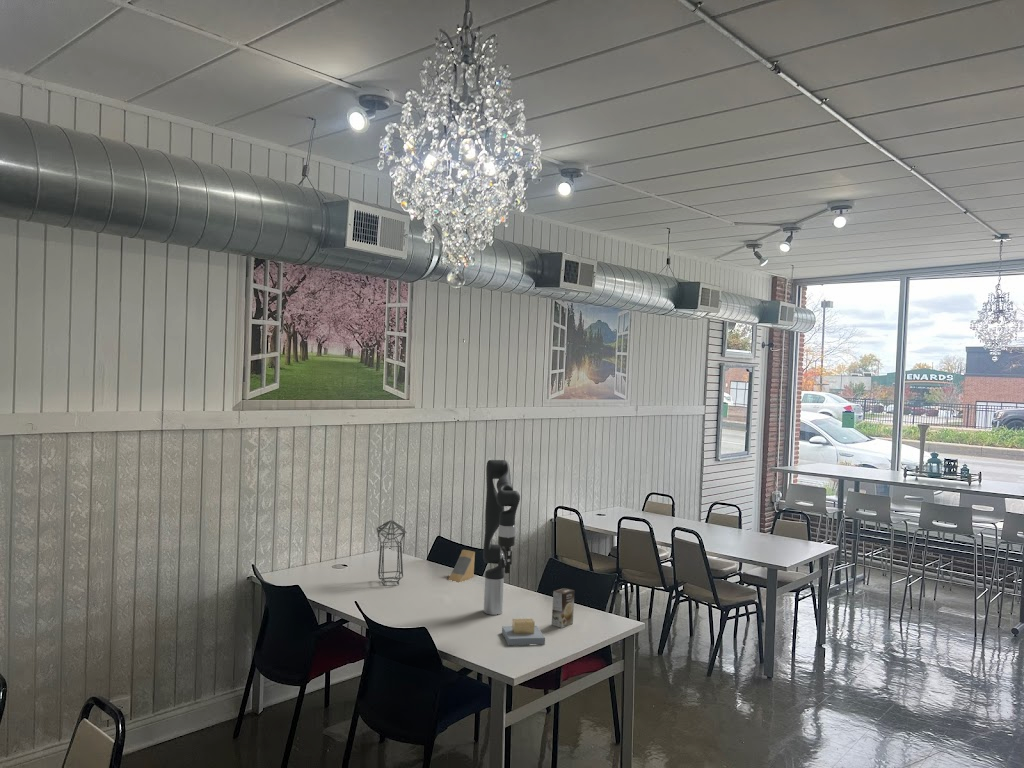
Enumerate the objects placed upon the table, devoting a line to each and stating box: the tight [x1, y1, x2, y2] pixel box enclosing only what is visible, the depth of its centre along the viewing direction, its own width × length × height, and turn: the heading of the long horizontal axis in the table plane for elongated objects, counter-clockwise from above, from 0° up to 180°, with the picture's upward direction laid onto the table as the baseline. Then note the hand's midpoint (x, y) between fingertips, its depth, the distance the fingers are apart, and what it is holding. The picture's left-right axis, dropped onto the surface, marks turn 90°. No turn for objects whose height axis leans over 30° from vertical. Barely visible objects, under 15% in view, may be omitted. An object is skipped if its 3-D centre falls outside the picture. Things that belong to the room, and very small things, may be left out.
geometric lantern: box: [375, 519, 407, 586], centre depth 407 cm, size 16×16×35 cm
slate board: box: [501, 625, 546, 646], centre depth 328 cm, size 16×16×3 cm
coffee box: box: [551, 587, 576, 629], centre depth 350 cm, size 9×6×16 cm
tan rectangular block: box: [511, 618, 536, 634], centre depth 328 cm, size 5×9×5 cm, turn 101°
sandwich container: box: [447, 549, 476, 583], centre depth 423 cm, size 9×15×15 cm, turn 153°
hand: (505, 570), depth 333 cm, fingers open, 8 cm apart
